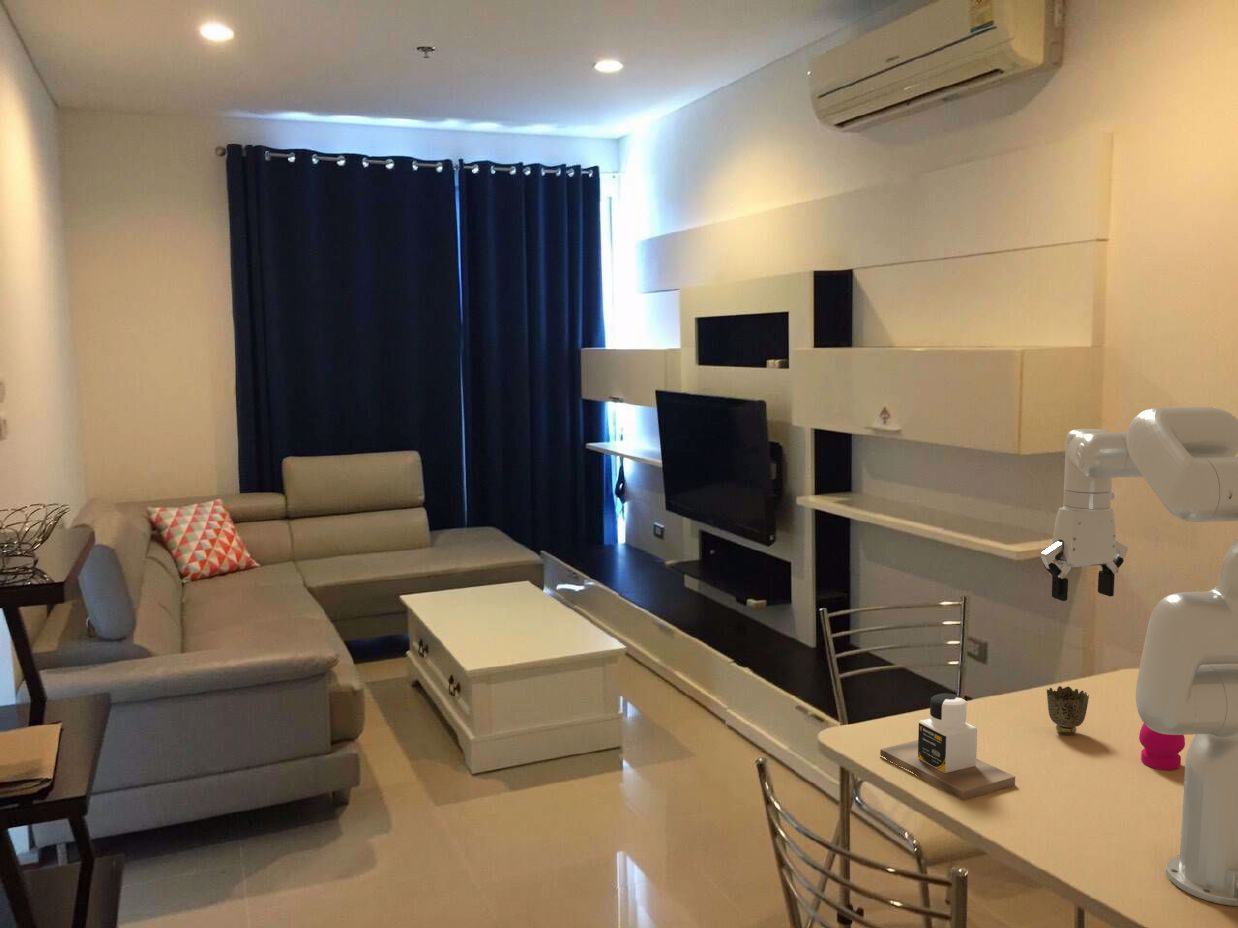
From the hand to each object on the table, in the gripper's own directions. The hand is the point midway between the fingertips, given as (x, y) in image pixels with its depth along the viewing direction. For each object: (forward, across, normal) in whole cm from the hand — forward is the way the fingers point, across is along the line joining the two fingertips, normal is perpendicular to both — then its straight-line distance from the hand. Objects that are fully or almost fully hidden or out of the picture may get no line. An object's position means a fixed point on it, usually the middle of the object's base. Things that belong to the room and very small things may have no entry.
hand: (1082, 596), depth 181 cm
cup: (+31, -8, -12) cm, 34 cm away
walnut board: (+30, +24, -4) cm, 39 cm away
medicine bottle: (+29, +24, -4) cm, 38 cm away
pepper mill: (+31, -14, +5) cm, 34 cm away
